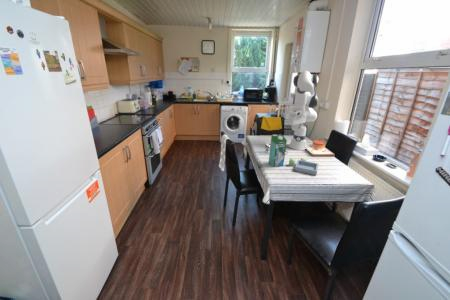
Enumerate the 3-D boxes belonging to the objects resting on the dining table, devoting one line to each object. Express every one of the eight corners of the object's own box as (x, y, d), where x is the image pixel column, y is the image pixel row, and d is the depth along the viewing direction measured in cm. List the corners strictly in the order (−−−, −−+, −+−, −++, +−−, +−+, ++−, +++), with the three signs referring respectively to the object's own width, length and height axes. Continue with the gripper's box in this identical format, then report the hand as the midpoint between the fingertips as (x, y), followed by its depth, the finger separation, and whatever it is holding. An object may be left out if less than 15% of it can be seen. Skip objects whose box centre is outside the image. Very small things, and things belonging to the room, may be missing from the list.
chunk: (300, 161, 180) (301, 157, 178) (305, 162, 178) (306, 158, 176) (299, 163, 176) (300, 159, 175) (305, 164, 174) (306, 160, 173)
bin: (297, 163, 176) (298, 159, 175) (317, 167, 169) (318, 163, 168) (294, 170, 163) (295, 166, 161) (316, 175, 156) (317, 171, 155)
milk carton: (273, 167, 168) (277, 137, 159) (268, 162, 176) (271, 134, 167) (283, 166, 170) (287, 137, 162) (277, 161, 179) (281, 133, 170)
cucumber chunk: (289, 163, 175) (290, 158, 174) (294, 164, 174) (295, 159, 172) (288, 165, 172) (289, 160, 170) (293, 166, 170) (294, 161, 168)
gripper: (302, 110, 171) (299, 127, 175) (287, 112, 158) (285, 130, 163) (309, 111, 166) (306, 128, 171) (295, 113, 154) (292, 131, 158)
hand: (296, 129), depth 167 cm, fingers open, 8 cm apart
